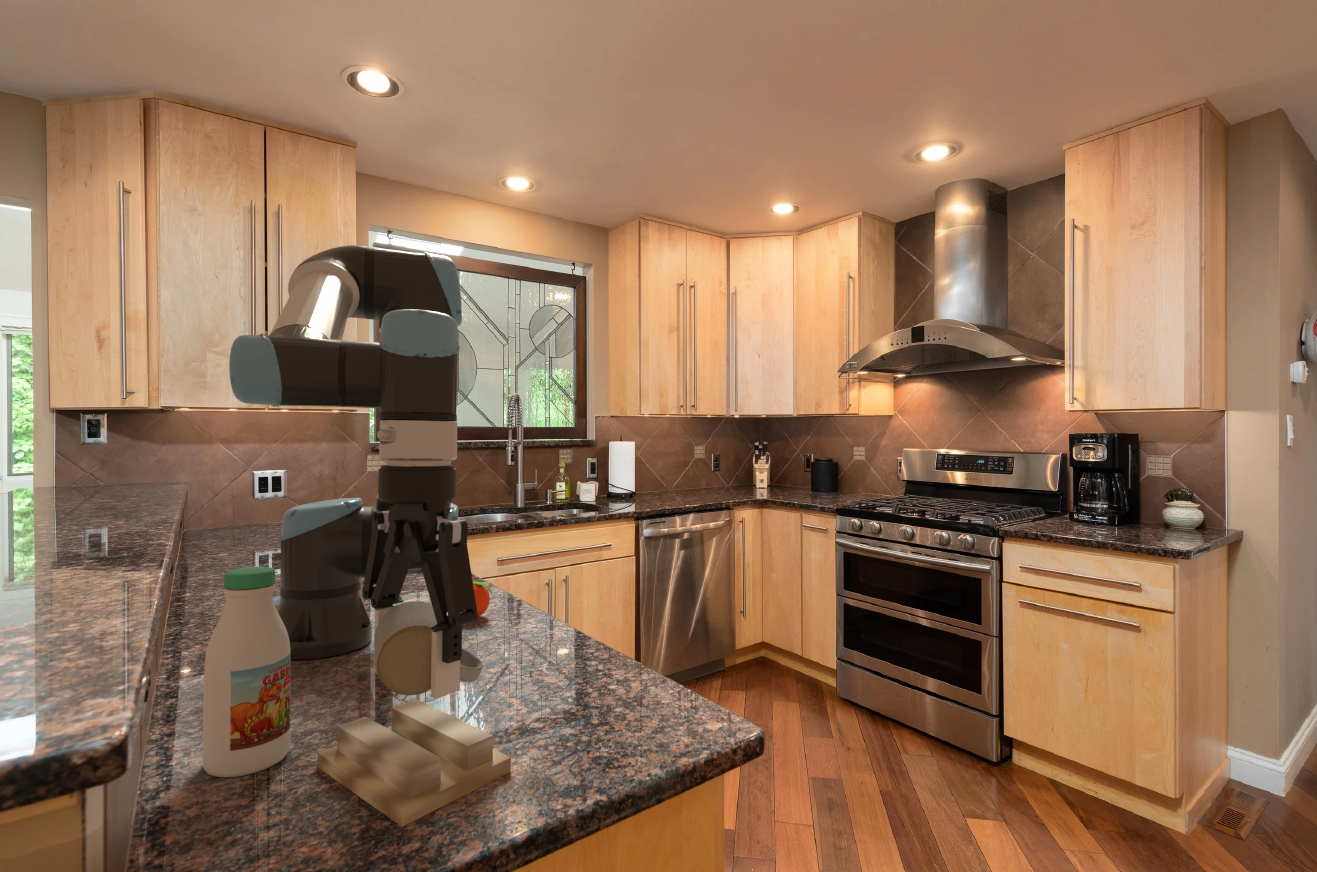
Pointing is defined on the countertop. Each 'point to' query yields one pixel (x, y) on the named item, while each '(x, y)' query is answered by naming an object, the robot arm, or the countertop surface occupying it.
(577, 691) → the countertop surface
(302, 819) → the countertop surface
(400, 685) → the speckled stoneware cup
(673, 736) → the countertop surface
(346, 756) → the wooden block with ridges
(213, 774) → the milk bottle
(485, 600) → the clementine
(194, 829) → the countertop surface
